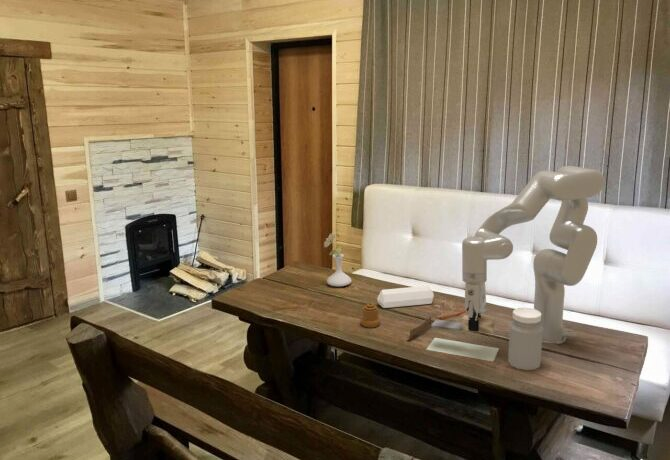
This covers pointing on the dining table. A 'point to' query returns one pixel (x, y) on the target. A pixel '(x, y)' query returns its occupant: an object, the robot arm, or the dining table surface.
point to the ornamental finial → (370, 316)
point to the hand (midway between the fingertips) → (474, 328)
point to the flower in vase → (337, 266)
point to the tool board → (463, 349)
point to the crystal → (405, 296)
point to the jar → (525, 339)
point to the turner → (466, 325)
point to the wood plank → (420, 329)
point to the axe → (459, 314)
